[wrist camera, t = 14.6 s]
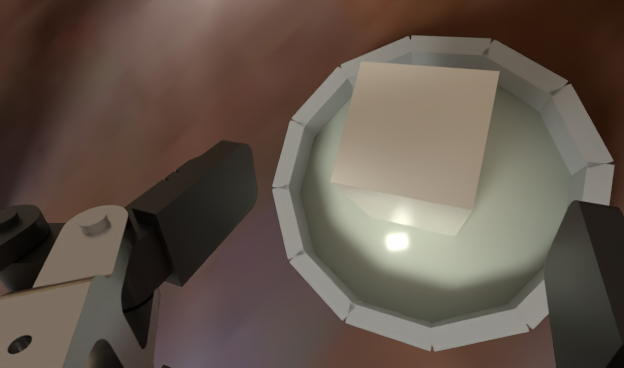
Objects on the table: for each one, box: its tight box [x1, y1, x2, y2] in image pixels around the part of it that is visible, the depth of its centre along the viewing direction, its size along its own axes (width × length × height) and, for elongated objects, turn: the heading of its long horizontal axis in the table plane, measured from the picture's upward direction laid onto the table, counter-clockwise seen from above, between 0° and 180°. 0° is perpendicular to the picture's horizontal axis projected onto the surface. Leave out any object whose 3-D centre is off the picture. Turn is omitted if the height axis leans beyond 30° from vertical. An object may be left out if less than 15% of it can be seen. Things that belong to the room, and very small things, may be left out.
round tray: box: [272, 35, 614, 351], centre depth 20 cm, size 16×16×3 cm
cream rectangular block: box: [330, 61, 500, 236], centre depth 16 cm, size 5×5×9 cm
